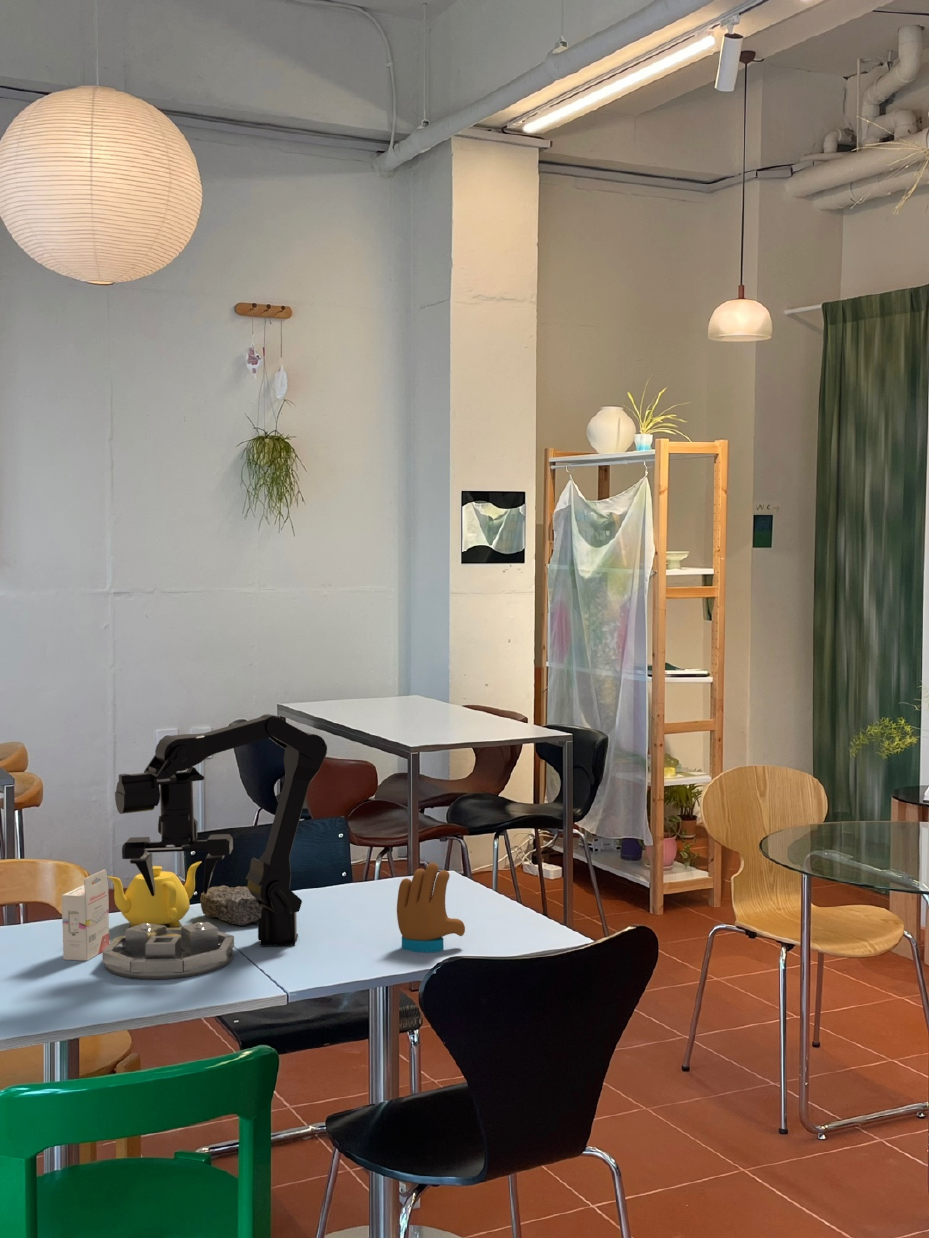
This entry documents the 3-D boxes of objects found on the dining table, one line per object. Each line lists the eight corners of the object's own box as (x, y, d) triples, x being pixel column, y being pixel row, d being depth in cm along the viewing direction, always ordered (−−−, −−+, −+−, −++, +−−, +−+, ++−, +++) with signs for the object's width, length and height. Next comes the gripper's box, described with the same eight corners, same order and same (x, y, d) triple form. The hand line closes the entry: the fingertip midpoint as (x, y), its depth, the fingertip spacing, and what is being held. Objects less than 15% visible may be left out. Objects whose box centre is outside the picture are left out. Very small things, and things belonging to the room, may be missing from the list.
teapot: (127, 943, 233) (126, 882, 233) (93, 927, 244) (92, 869, 244) (222, 924, 246) (221, 866, 246) (185, 910, 257) (185, 854, 257)
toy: (467, 944, 231) (466, 863, 230) (453, 955, 224) (453, 871, 224) (406, 939, 235) (406, 859, 234) (391, 949, 228) (391, 867, 228)
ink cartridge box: (85, 946, 231) (84, 867, 231) (110, 948, 230) (109, 868, 230) (61, 960, 223) (60, 877, 222) (87, 961, 222) (86, 878, 221)
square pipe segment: (181, 958, 219) (180, 935, 219) (175, 966, 214) (174, 943, 214) (152, 958, 219) (151, 936, 219) (145, 967, 214) (145, 944, 214)
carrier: (241, 942, 233) (241, 911, 233) (222, 978, 211) (222, 944, 211) (122, 944, 232) (121, 912, 232) (90, 980, 210) (90, 946, 210)
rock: (285, 922, 248) (252, 909, 261) (285, 889, 248) (252, 878, 261) (225, 930, 241) (195, 916, 253) (226, 896, 241) (195, 884, 254)
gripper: (235, 797, 232) (237, 881, 232) (132, 801, 230) (135, 885, 231) (227, 808, 220) (230, 896, 221) (120, 812, 219) (122, 900, 220)
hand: (179, 894), depth 223 cm, fingers open, 9 cm apart
